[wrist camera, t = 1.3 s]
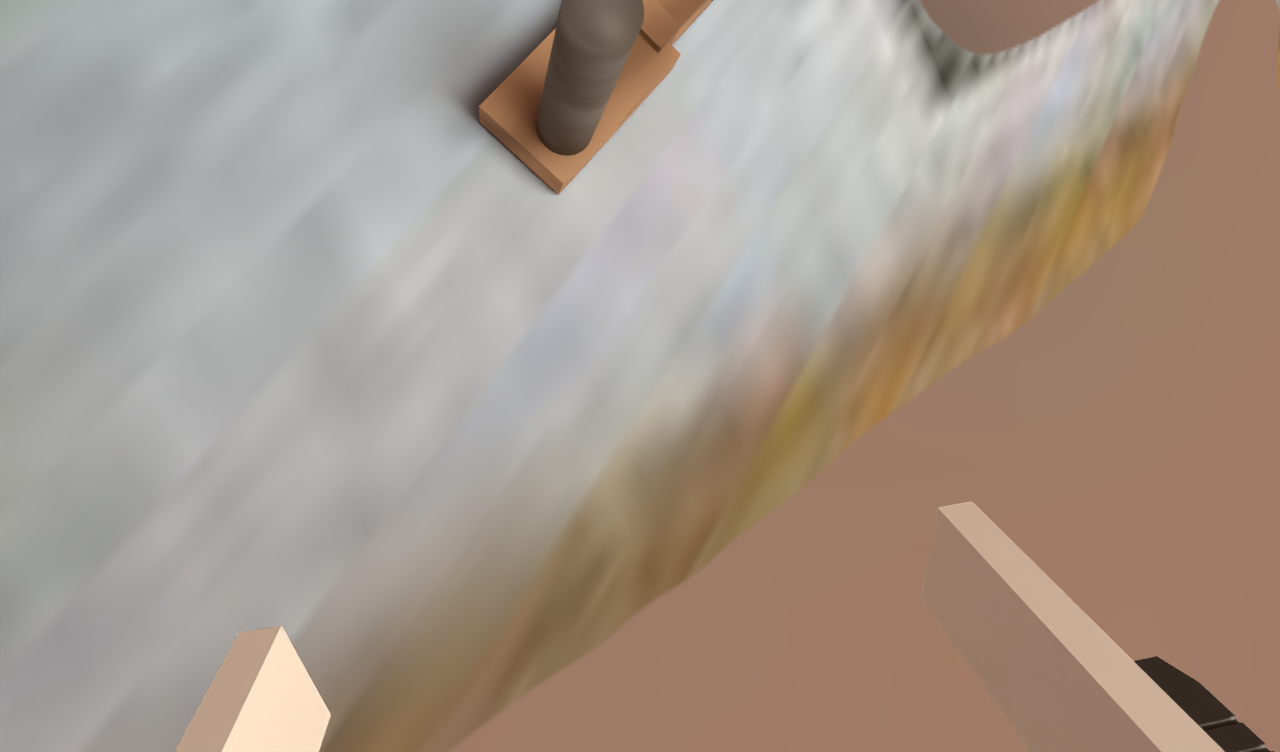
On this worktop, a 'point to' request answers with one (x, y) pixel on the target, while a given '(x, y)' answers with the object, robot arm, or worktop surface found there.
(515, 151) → the brown wooden frame
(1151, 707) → the robot arm
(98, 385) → the worktop surface
